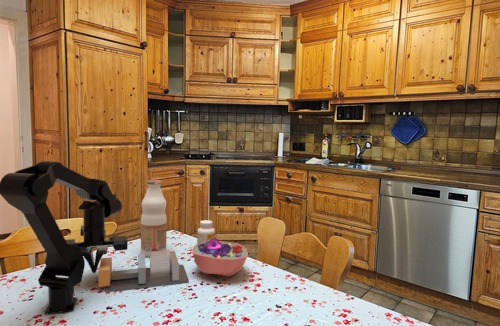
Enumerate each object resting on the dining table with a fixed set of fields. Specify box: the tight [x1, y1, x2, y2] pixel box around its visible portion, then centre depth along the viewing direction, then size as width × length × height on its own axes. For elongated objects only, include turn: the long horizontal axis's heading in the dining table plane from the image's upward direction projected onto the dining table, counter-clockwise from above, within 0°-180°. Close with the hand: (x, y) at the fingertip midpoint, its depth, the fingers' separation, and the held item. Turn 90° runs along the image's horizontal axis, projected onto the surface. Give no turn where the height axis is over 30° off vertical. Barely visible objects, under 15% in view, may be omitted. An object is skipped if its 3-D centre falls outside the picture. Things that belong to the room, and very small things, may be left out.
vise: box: [104, 250, 190, 293], centre depth 105 cm, size 13×24×6 cm, turn 109°
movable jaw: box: [97, 253, 147, 288], centre depth 102 cm, size 12×13×5 cm
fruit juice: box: [140, 179, 168, 258], centre depth 126 cm, size 9×9×28 cm
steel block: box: [149, 249, 171, 278], centre depth 106 cm, size 4×6×7 cm, turn 109°
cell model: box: [191, 237, 249, 277], centre depth 110 cm, size 17×20×11 cm
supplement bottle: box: [196, 219, 216, 245], centre depth 127 cm, size 7×7×13 cm
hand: (94, 272), depth 100 cm, fingers closed
